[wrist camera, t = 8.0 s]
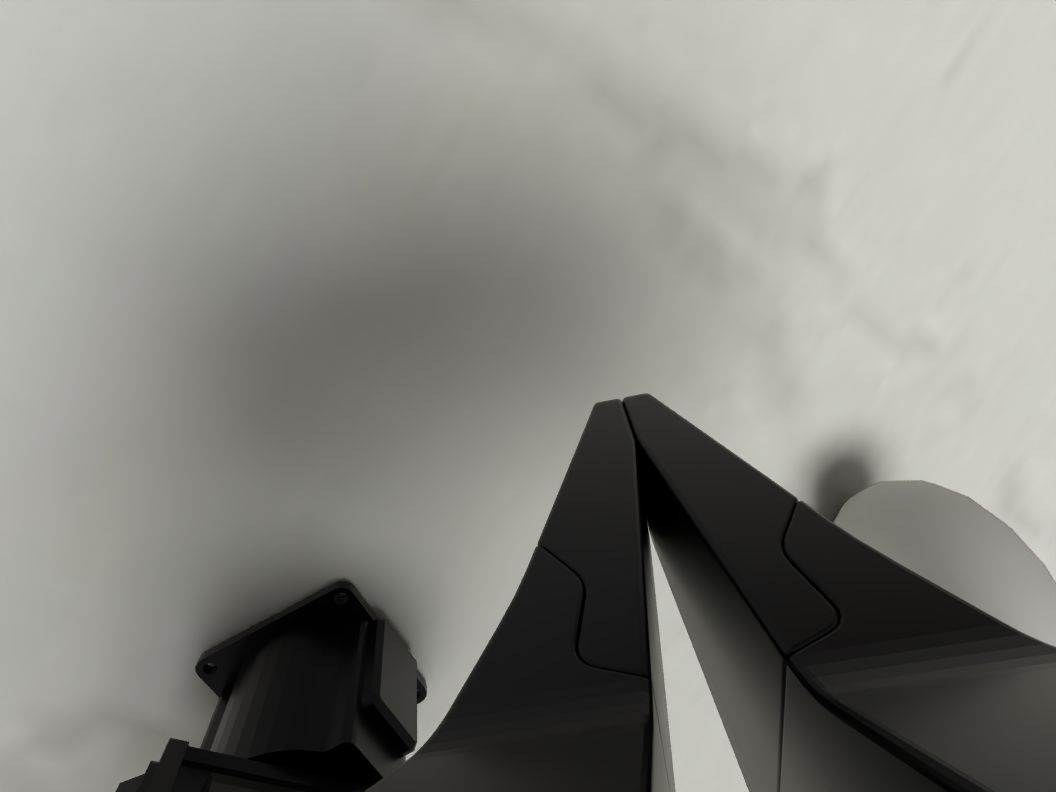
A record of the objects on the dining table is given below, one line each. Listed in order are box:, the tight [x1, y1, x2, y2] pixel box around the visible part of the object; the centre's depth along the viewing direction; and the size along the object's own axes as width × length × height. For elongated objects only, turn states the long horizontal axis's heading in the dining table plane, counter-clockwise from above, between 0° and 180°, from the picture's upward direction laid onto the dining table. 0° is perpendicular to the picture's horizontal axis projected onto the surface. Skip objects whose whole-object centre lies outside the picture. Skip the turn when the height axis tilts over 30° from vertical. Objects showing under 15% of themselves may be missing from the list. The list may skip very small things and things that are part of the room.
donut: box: [833, 480, 1056, 647], centre depth 22 cm, size 10×4×10 cm, turn 9°
